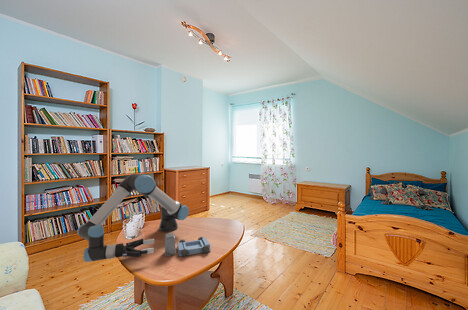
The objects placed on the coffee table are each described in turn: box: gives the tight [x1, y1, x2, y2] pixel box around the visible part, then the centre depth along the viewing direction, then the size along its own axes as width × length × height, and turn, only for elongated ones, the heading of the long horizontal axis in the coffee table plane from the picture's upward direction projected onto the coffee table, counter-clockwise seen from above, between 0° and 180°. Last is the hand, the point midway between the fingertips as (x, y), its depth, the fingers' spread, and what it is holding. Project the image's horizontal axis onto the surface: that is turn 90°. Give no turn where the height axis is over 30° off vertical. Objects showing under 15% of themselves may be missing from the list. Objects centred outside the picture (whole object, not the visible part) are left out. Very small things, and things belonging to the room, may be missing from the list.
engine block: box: [164, 232, 176, 257], centre depth 135 cm, size 6×6×12 cm
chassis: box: [176, 236, 211, 258], centre depth 140 cm, size 16×20×4 cm
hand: (153, 245), depth 132 cm, fingers open, 13 cm apart
